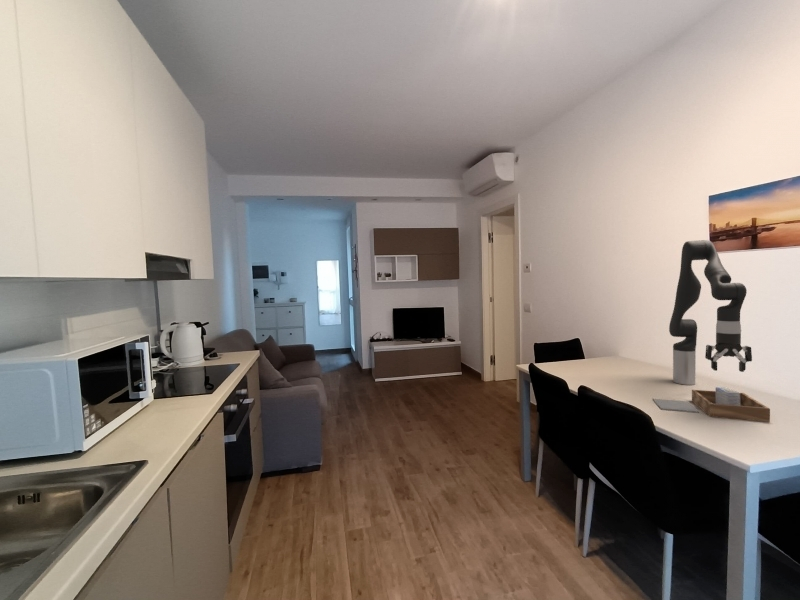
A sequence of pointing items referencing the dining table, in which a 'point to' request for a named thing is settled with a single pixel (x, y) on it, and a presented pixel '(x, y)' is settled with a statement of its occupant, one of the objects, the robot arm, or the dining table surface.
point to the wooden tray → (731, 407)
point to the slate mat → (675, 405)
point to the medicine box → (727, 396)
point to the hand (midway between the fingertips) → (727, 370)
